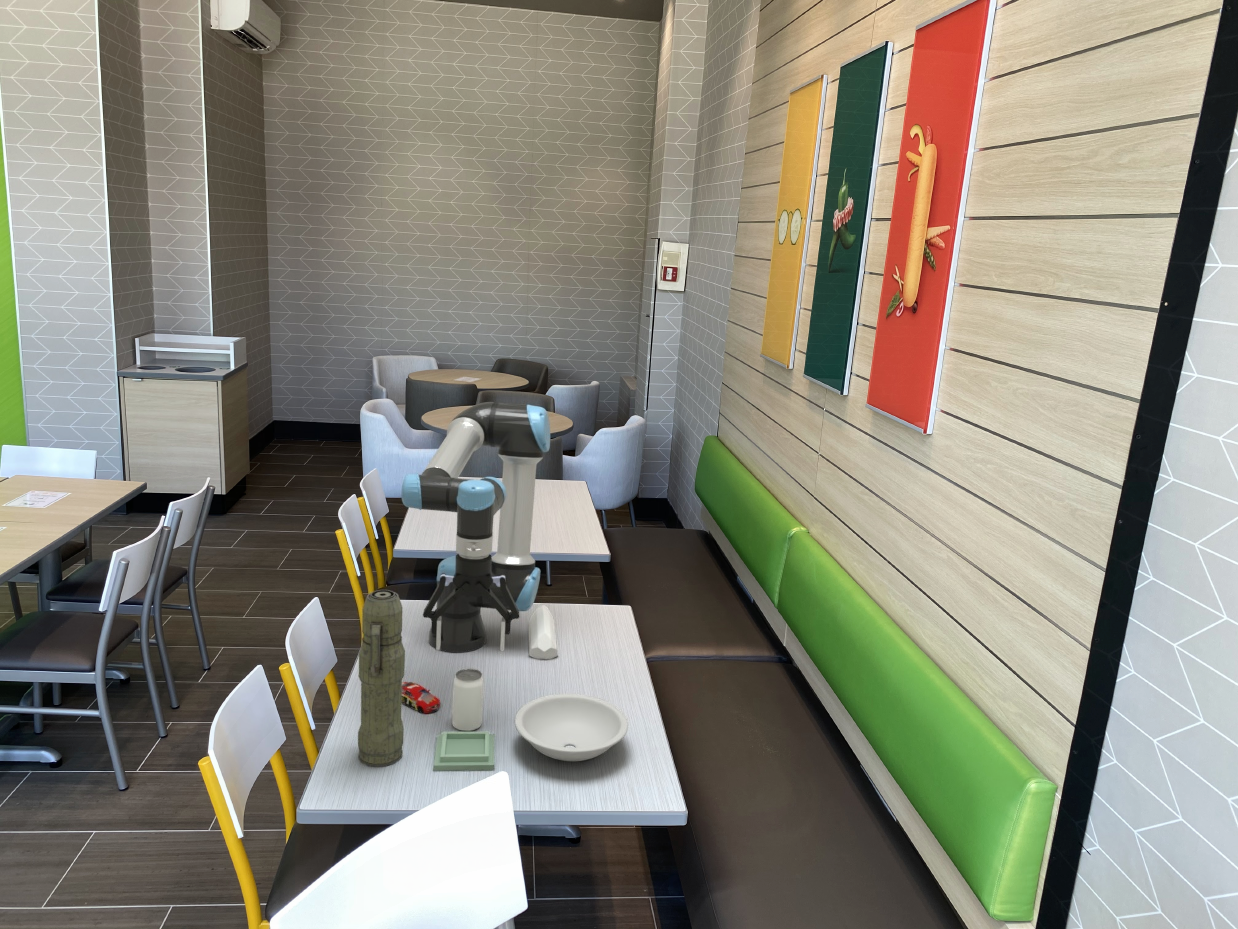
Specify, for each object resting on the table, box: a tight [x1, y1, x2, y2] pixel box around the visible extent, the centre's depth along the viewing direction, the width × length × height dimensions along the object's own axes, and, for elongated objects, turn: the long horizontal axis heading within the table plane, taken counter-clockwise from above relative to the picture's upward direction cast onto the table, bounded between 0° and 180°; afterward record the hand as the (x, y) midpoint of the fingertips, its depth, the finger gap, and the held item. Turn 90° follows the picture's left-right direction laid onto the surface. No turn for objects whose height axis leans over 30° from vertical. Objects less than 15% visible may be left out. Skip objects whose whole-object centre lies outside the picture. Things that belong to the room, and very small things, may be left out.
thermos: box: [357, 589, 406, 768], centre depth 174 cm, size 9×12×35 cm
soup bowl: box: [514, 693, 629, 762], centre depth 185 cm, size 24×24×7 cm
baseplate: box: [433, 731, 496, 772], centre depth 180 cm, size 12×12×2 cm
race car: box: [401, 681, 441, 715], centre depth 200 cm, size 13×5×4 cm, turn 53°
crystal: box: [528, 603, 559, 660], centre depth 237 cm, size 7×7×24 cm
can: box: [451, 668, 484, 732], centre depth 191 cm, size 6×6×12 cm
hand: (470, 647), depth 188 cm, fingers open, 13 cm apart
